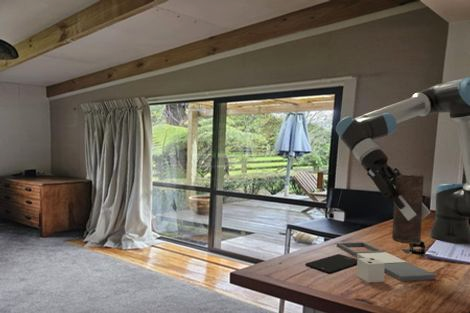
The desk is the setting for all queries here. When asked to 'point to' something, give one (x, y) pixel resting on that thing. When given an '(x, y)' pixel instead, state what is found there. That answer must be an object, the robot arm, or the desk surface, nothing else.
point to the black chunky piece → (415, 251)
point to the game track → (389, 262)
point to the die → (370, 269)
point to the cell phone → (333, 263)
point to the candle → (413, 196)
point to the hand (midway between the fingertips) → (419, 216)
